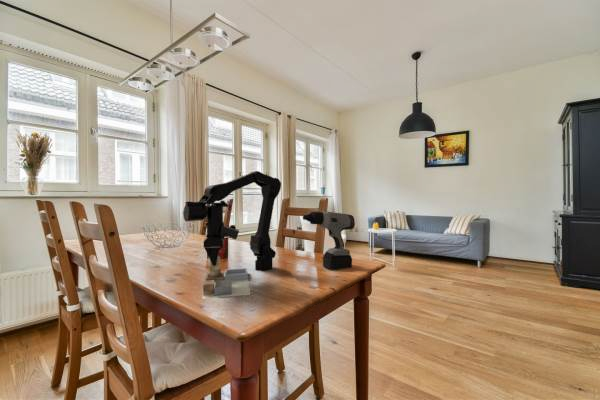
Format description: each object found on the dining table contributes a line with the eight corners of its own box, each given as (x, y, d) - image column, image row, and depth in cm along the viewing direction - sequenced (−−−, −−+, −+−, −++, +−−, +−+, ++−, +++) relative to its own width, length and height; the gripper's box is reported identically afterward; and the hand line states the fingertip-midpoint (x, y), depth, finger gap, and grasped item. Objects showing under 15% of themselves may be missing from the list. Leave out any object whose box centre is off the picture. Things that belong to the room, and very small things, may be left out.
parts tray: (246, 273, 103) (246, 268, 103) (247, 279, 96) (247, 273, 96) (225, 275, 101) (225, 269, 101) (224, 281, 94) (224, 275, 94)
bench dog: (214, 289, 85) (214, 280, 85) (213, 294, 81) (213, 283, 81) (204, 290, 84) (204, 280, 84) (203, 295, 81) (203, 284, 81)
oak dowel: (222, 276, 98) (221, 255, 98) (219, 280, 94) (218, 258, 94) (211, 277, 98) (210, 256, 98) (208, 281, 94) (207, 259, 94)
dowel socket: (224, 276, 100) (224, 272, 100) (223, 281, 94) (223, 276, 94) (207, 277, 98) (207, 273, 98) (205, 282, 93) (205, 278, 93)
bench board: (246, 275, 105) (246, 272, 105) (250, 298, 81) (250, 294, 81) (209, 277, 102) (209, 274, 102) (202, 302, 78) (202, 298, 78)
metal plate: (231, 286, 88) (231, 279, 88) (231, 294, 81) (231, 286, 81) (215, 288, 87) (215, 280, 87) (214, 295, 80) (214, 287, 80)
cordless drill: (300, 269, 114) (299, 211, 113) (347, 263, 123) (347, 209, 123) (307, 273, 107) (307, 212, 106) (357, 267, 116) (357, 210, 116)
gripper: (238, 221, 89) (238, 267, 89) (237, 217, 107) (237, 255, 107) (203, 222, 86) (203, 269, 86) (208, 218, 104) (208, 257, 105)
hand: (215, 262), depth 96 cm, fingers open, 9 cm apart
